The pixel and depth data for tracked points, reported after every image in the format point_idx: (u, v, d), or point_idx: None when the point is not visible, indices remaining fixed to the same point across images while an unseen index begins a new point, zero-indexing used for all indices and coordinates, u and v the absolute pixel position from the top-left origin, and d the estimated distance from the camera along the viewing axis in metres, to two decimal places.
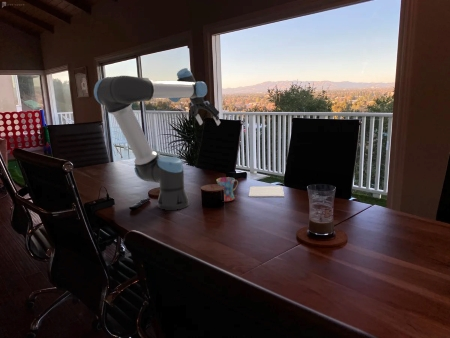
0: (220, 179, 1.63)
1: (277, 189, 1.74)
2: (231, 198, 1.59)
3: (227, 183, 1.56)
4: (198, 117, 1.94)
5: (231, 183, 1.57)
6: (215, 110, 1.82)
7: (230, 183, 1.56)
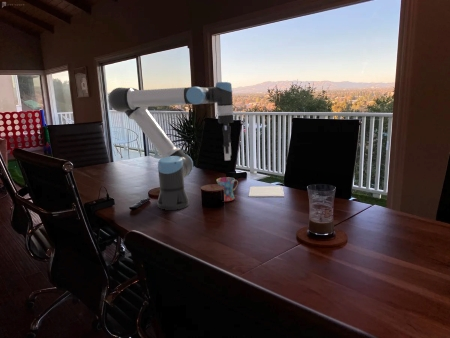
0: (220, 179, 1.63)
1: (277, 189, 1.74)
2: (231, 198, 1.59)
3: (227, 183, 1.56)
4: None
5: (231, 183, 1.57)
6: (226, 140, 1.49)
7: (230, 183, 1.56)
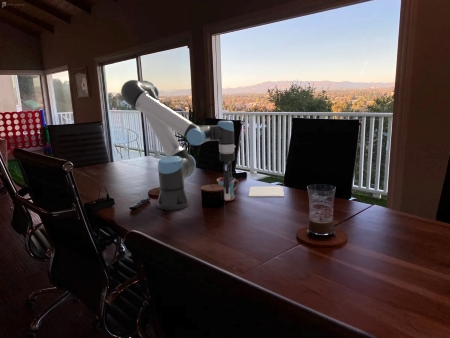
0: (220, 179, 1.63)
1: (277, 189, 1.74)
2: (231, 198, 1.59)
3: None
4: None
5: (231, 183, 1.58)
6: (226, 181, 1.53)
7: (230, 183, 1.57)
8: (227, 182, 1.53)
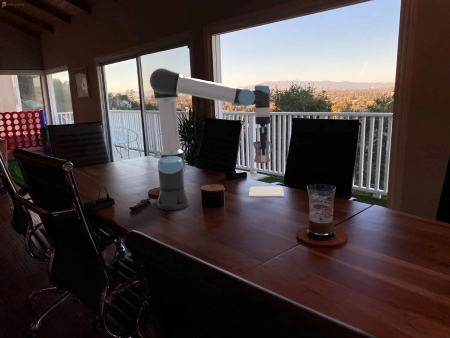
0: (256, 142, 1.69)
1: (277, 189, 1.74)
2: (267, 160, 1.65)
3: None
4: None
5: (267, 145, 1.63)
6: (263, 142, 1.59)
7: (266, 145, 1.63)
8: (264, 144, 1.59)
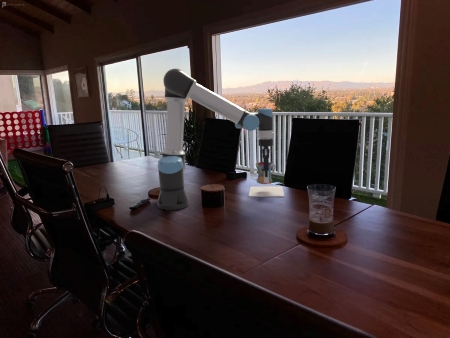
0: (258, 163, 1.73)
1: (277, 189, 1.74)
2: (269, 181, 1.68)
3: None
4: None
5: (270, 167, 1.67)
6: (266, 165, 1.62)
7: (269, 167, 1.66)
8: (267, 166, 1.62)
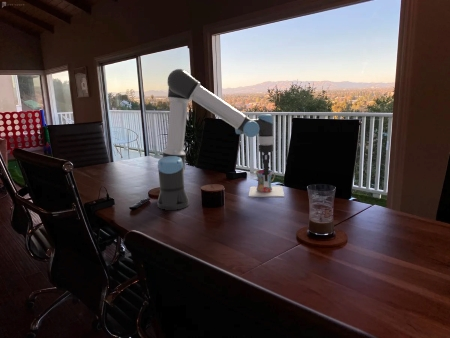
0: (258, 171, 1.74)
1: (277, 189, 1.74)
2: (269, 189, 1.70)
3: None
4: None
5: (269, 175, 1.68)
6: (266, 169, 1.61)
7: (269, 175, 1.67)
8: (267, 170, 1.61)
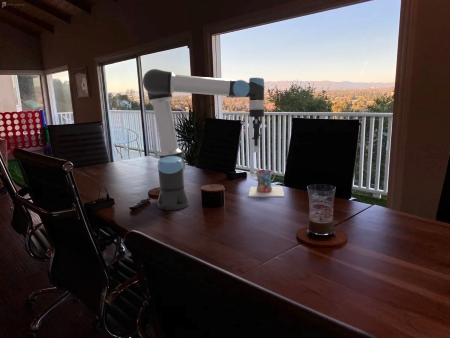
0: (258, 171, 1.74)
1: (277, 189, 1.74)
2: (269, 189, 1.70)
3: (266, 175, 1.67)
4: None
5: (269, 175, 1.68)
6: (256, 132, 1.57)
7: (269, 175, 1.67)
8: (257, 133, 1.57)
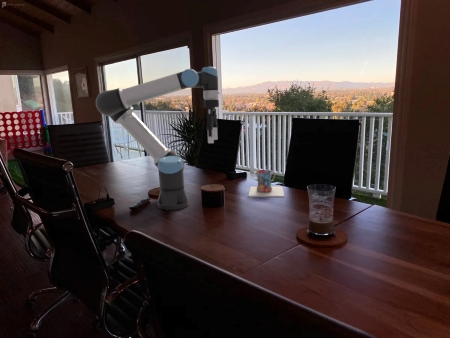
0: (258, 171, 1.74)
1: (277, 189, 1.74)
2: (269, 189, 1.70)
3: (266, 175, 1.67)
4: (214, 130, 1.71)
5: (269, 175, 1.68)
6: (209, 123, 1.54)
7: (269, 175, 1.67)
8: (210, 124, 1.54)
